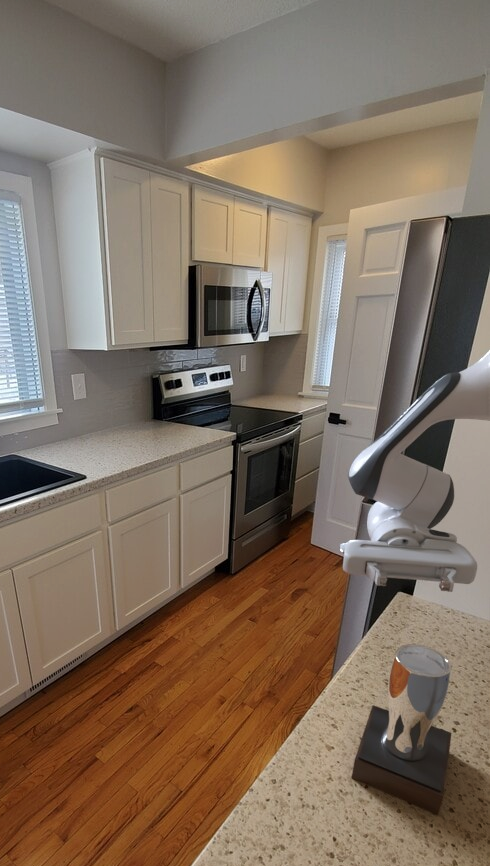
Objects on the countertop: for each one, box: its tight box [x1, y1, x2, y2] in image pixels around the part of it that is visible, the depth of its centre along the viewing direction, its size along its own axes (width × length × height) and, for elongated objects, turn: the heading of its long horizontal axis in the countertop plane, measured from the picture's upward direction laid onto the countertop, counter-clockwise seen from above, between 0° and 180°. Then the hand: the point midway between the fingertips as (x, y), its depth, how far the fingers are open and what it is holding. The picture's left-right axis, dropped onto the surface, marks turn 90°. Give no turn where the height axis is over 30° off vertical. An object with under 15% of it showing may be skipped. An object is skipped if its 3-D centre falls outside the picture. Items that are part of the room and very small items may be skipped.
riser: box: [351, 705, 452, 816], centre depth 70 cm, size 12×11×4 cm
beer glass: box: [381, 643, 452, 761], centre depth 66 cm, size 7×7×15 cm
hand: (414, 584), depth 76 cm, fingers open, 8 cm apart
